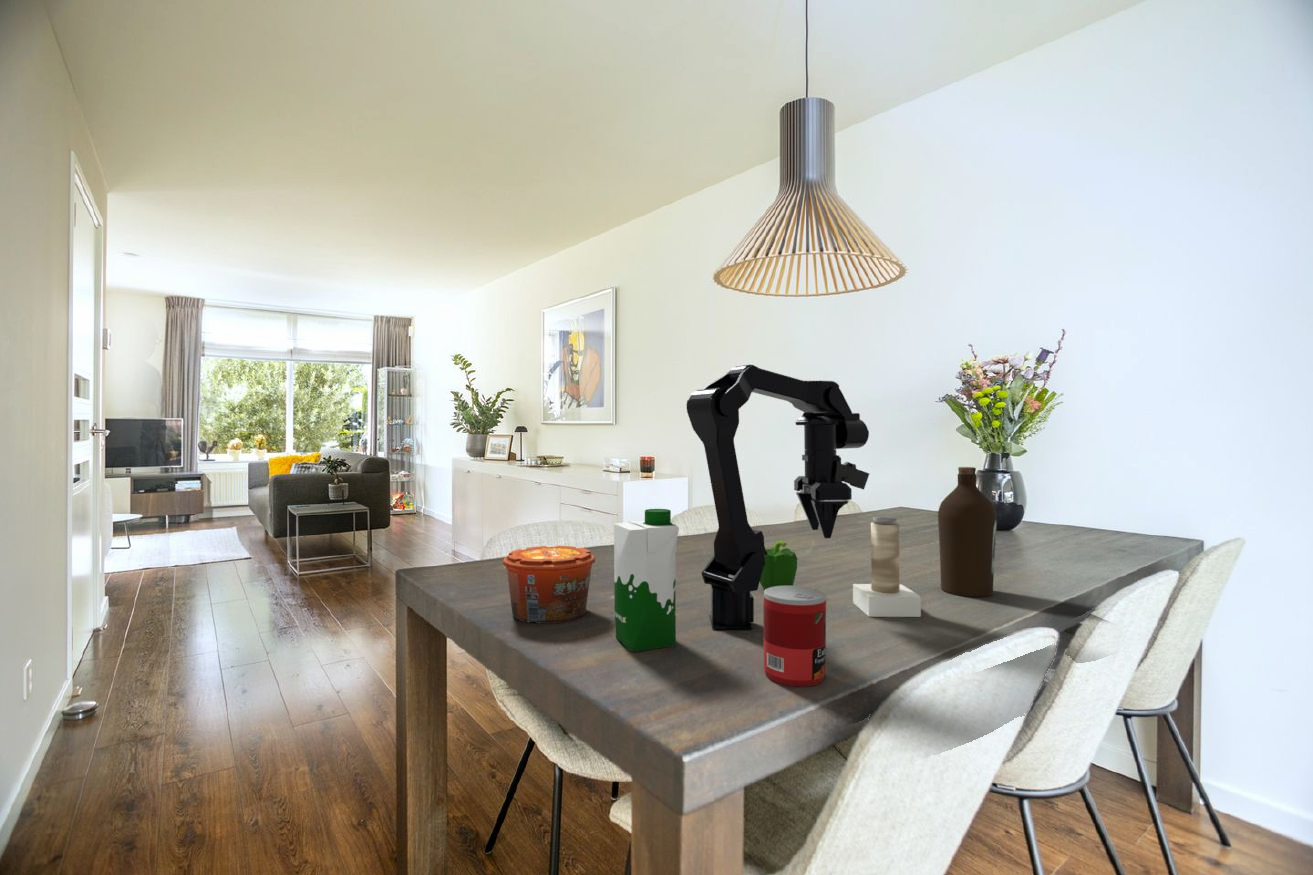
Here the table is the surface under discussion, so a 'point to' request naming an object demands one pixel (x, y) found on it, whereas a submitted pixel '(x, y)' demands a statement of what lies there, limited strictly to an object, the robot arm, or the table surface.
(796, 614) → the canned food
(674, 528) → the milk carton
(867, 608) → the stoneware block
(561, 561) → the food container
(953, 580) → the olive oil
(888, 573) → the salt mill
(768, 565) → the bell pepper
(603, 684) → the table surface
